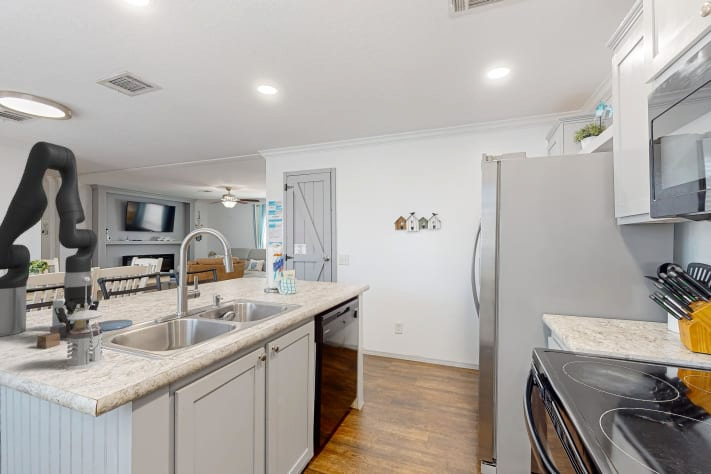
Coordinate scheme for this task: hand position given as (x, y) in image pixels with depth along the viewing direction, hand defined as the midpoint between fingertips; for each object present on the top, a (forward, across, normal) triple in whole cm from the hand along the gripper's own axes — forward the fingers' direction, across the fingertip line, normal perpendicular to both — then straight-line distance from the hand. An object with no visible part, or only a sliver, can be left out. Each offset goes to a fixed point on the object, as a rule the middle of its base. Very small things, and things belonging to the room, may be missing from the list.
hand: (77, 331), depth 116 cm
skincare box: (+2, -7, -16) cm, 18 cm away
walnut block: (+2, +9, 0) cm, 9 cm away
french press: (+3, +17, +27) cm, 32 cm away
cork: (+2, 0, 0) cm, 2 cm away
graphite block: (+2, 0, -8) cm, 8 cm away
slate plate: (+2, -15, -3) cm, 15 cm away
